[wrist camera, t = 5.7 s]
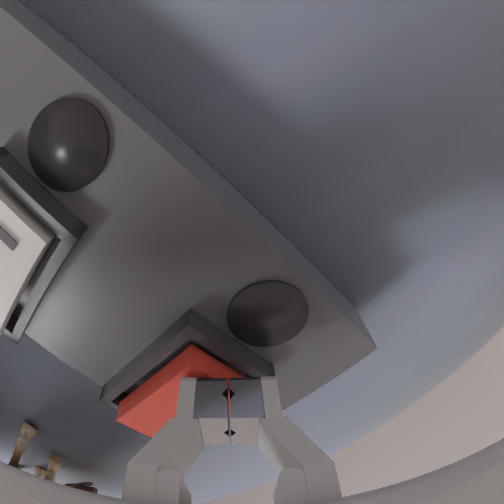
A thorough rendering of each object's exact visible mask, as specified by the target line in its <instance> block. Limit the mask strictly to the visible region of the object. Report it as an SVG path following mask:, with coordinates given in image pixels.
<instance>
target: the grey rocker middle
mask: <svg viewBox="0 0 504 504" xmlns="http://www.w3.org/2000/svg"><path fill="white" fill-rule="evenodd" d="M55 237H56V235H55V234H54V233H53V232H52V231H51V230H50V229H49V228H48V227H47V226H46V225H44V224H43V223H42V222H41V221H40V220H39V219H38V218H37V217H36V216H35V215H34V214H33V213H32V212H30V211H29V210H28V209H27V208H26V207H25V206H24V205H23V204H22V203H21V202H20V201H19V200H18V199H17V198H16V197H15V196H14V195H13V194H12V193H11V192H10V191H9V190H8V189H7V188H6V187H5V186H4V185H3V184H2V183H1V182H0V336H1V334H2V333H3V332H4V329H5V327H6V325H7V323H8V321H9V319H10V317H11V315H12V313H13V311H14V309H15V307H16V305H17V303H18V301H19V299H20V297H21V295H22V293H23V291H24V289H25V288H26V286H27V284H28V282H29V280H30V278H31V277H32V275H33V273H34V271H35V270H36V268H37V266H38V265H39V263H40V261H41V260H42V258H43V256H44V255H45V253H46V251H47V250H48V248H49V246H50V245H51V243H52V242H53V240H54V239H55Z"/></svg>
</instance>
